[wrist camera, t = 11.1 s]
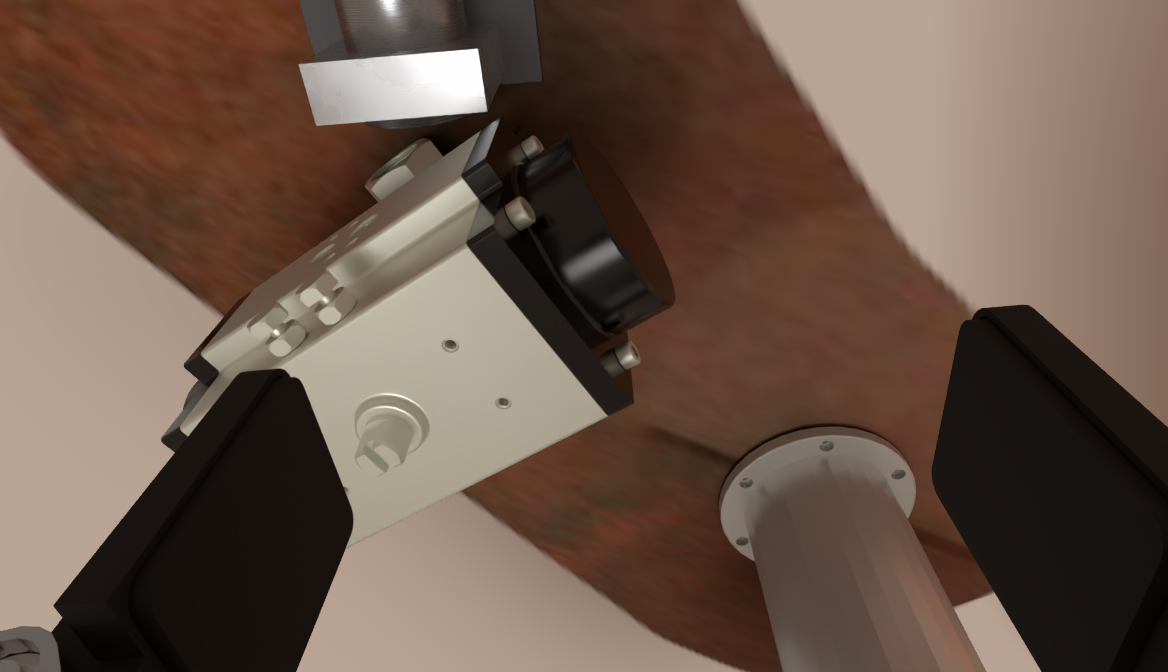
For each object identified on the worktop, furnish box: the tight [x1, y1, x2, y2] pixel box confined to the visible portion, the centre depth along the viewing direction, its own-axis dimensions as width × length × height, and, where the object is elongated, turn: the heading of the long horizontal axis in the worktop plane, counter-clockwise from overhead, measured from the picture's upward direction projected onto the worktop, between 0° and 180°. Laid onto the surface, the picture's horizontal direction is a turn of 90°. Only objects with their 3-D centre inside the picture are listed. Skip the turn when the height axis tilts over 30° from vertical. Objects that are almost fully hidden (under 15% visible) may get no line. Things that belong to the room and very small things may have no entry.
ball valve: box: [161, 116, 675, 549], centre depth 27 cm, size 18×8×18 cm, turn 123°
